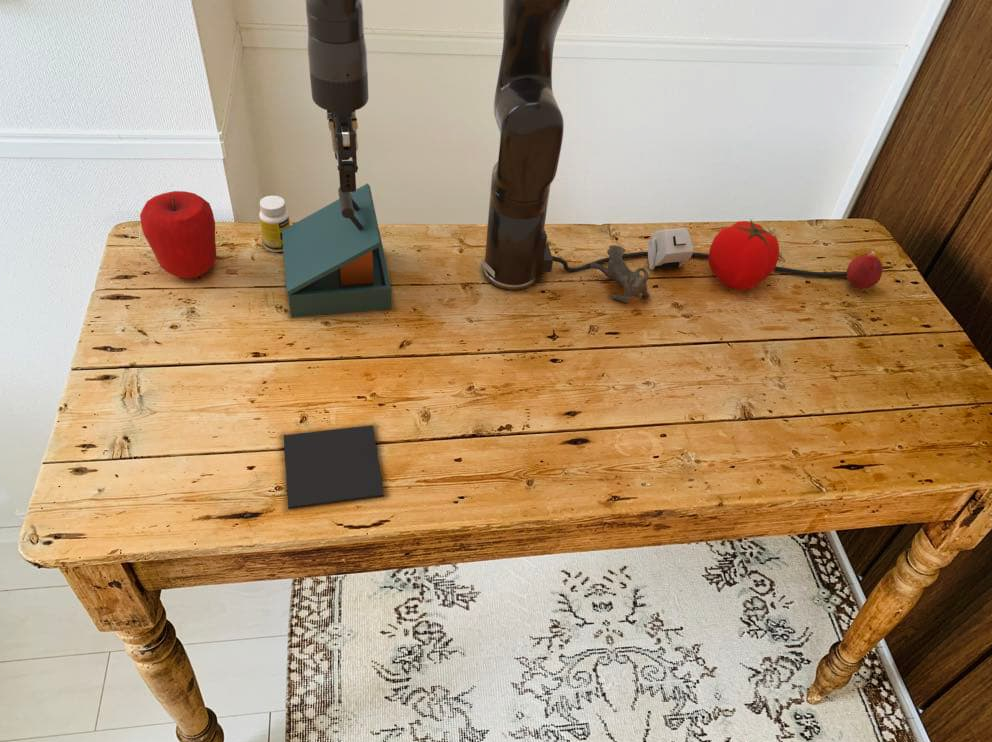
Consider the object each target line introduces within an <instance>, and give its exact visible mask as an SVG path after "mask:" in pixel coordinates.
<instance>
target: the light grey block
mask: <svg viewBox="0 0 992 742" xmlns="http://www.w3.org/2000/svg"><path fill="white" fill-rule="evenodd" d="M651 235H652V236H651V238H649V239H648V241H647V252H648V256H647V261H648V268H649V270H653V271H658V270H667V269H678V268H680V267H682V266H683V264H686V263H688V262H689V260H690V259H691V258H692V257H691V256H692V254H693V252H694V253H695V250H694V247H693V243H692V238H691V236H690V232H689V229H688V228H687V227H678V228H670V229H668V228H667V229H658V230H654V232H653V233H652V234H651Z"/></svg>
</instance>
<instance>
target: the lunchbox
mask: <svg viewBox="0 0 992 742" xmlns="http://www.w3.org/2000/svg"><path fill="white" fill-rule="evenodd" d="M379 233H380V234H381V231H380V230H379ZM380 238H381V239H382V236H381V235H380ZM381 243H382V246H380V247H378V248H377V249H375V250H373V251H372V259H373V282H374V283H368V284H354V285H341V281H340V274H339V269H337V270H335V271H334V272H332V273H330V274H328V275H326V276H324V277H322V278H321V279H319V280H317V281H315V282H313V283H311V284H309V285H307V286H306V287H304V288H302V289H300V290H298V291H296V292H294V293H293V294H291V295H289V294H288V293H287V295H288V296H287V299H288V304H289V311H290V317H291V318H298V317H309V316H310V317H311V316H322V315H323V316H324V315H335V314H347V313H361V312H372V311H386V310H392V309H393V306H392V305H393V304H392V302H393V301H392V285H391V279H390V275H389V269H388V266H387V261H386V260H387V259H386V256H385V251H384V246H383V242H382V240H381Z"/></svg>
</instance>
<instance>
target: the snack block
mask: <svg viewBox="0 0 992 742" xmlns="http://www.w3.org/2000/svg"><path fill="white" fill-rule="evenodd" d="M339 274H340V281H341V285H354V284H368V283H374V282H373V259H372V251H371V252H369V253H367V254H365V255H363V256H362V257H360V258H358V259H356V260H354V261H352V262H350V263H349V264H347V265H345V266H343V267H341V268H339Z"/></svg>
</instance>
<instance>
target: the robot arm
mask: <svg viewBox="0 0 992 742" xmlns="http://www.w3.org/2000/svg"><path fill="white" fill-rule="evenodd" d="M570 1H571V0H503V2H502V3H503V4H502V5H503V6H502V8H503V9H502V10H503V11H502V19H503V22H502V23H503V24H502V25H503V26H502V27H503V38H502V39H503V41H502V49H501V57H500V62H499V63H500V64H499V69H498V76H497V82H496V87H495V93H494V100H493V115H494V118H495V122H496V125H497V127H498V131H499V149H498V158H497V162H496V163H495V164H494V165H493V167H492V170H491V171H492V172H491V182H490V191H489V192H490V193H489V204H488V205H489V206H488V218H487V228H486V240H485V241H486V242H485V252H484V253H485V254H484V259H481V266H482V267H483V269H482V270H483V276H484V278H485V279H486V280H487V281H488V282H489V283H490V284H491V285H493V286H495V287H498V288H500V289H503V290H509V291H518V290H524V289H527V288H529V287H531V286H532V285H534V284H536V283H540V282H541V280H542V274H543V273H552V270H553V264H554V262H555V263H559V264H561V265H562V267H563V269H564V271H565V272H567V273H577V272H581V271H585V270H589V269H592V268H591V266H590V265H591V264H593V263H594V262H595V263H598V264H600V265H602V264H606V263H609V256H608V257H604V258H600V259H597V260H595V261H593V262H590V263H588V264H586V265H583V266H580V267H570V266H569V265H568V262H567V261H566V260H565V259H563V258H562V257H559V256H554V255H552V251H551V248H550V245H549V243H548V242H547V240H548V235H547V232H546V229H545V225H546V218H547V212H548V206H549V205H548V204H549V199H550V198H549V197H550V192H551V191H550V190H551V185H552V183H553V181H554V180H555V177H556V175H557V172H558V166H559V161H560V156H561V150H562V145H563V138H564V129H565V126H564V124H565V123H564V117H563V113H562V111H561V109H560V107H559V104H558V102H557V99H556V98H555V94H554V92H553V57H554V46H555V41H556V37H557V34H558V32H559V28H560V27H561V24H562V22H563V19H564V17H565V15H566V12H567V10H568V7H569V5H570ZM305 14H306V25H307V35H308V36H307V58H308V69H309V79H310V90H311V98H312V101H313V103H314V104H315V105H316V106H317V107H319V108H320V109H323V110H324V111H325V113H326V120H327V126H328V128H327V129H328V131H329V133H330V138H331V149H332V152H333V153H334V159H335V160H336V161H337V163H336V168H337V171H338V178H339V187H340V189H341V191H342V192H355V191H356V189H357V179H356V177H357V176H356V173H358V170H359V166H358V160H357V159H358V158H357V151H358V150H359V145H358V133H357V131H358V128H359V126H358V117H357V115H356V111H359V110H360V109H362V108H363V107H365V106H366V105H367V104H368V101H369V77H368V51H367V44H366V38H365V23H364V22H365V21H364V5H363V0H305ZM350 159H351V160H350ZM708 256H709V253H703V252H695V251H694V252H693V254H692V256H691V257H690V258H699V259H700V258H701V259H708ZM638 257H648V251H638V252H630V253H624V255H623V256H622V259H623V260H625V259H631V258H638ZM773 271H776V272H781V273H786V274H787V273H788V274H793V275H801V276H808V277H819V278H820V277H821V278H848V277H847V272H822V271H821V272H820V271H811V270H810V271H809V270H803V269H795V268H790V267H783V266H778V265H776V268H775V269H774V270H773Z"/></svg>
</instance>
